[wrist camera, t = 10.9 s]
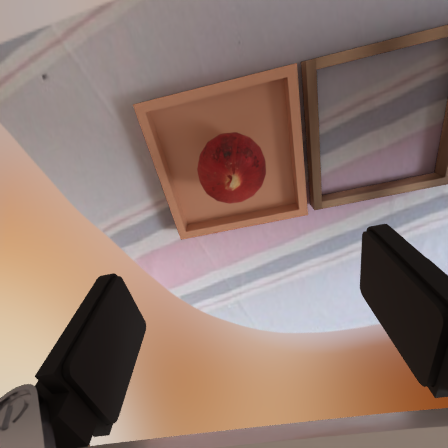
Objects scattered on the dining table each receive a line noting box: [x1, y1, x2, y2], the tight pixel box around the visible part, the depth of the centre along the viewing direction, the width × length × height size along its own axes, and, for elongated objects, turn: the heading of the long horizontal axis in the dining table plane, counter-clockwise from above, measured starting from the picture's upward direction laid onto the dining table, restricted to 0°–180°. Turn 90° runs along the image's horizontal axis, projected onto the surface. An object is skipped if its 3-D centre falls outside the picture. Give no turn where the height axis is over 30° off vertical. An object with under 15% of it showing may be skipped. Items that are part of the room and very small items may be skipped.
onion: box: [197, 132, 266, 204], centre depth 22 cm, size 6×6×8 cm
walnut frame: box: [301, 25, 448, 210], centre depth 24 cm, size 14×14×2 cm
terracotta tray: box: [133, 63, 308, 240], centre depth 25 cm, size 14×14×2 cm
